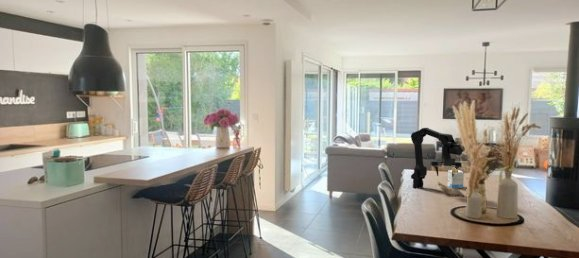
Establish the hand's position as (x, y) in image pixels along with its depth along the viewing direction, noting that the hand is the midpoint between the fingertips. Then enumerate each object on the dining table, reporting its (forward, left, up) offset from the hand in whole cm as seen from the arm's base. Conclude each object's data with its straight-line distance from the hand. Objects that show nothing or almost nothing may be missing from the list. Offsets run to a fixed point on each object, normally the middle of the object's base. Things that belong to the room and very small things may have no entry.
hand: (445, 176), depth 268 cm
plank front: (+1, 0, -10) cm, 10 cm away
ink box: (+11, +26, -12) cm, 31 cm away
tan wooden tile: (+9, +6, -12) cm, 16 cm away
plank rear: (+1, +11, -10) cm, 15 cm away
